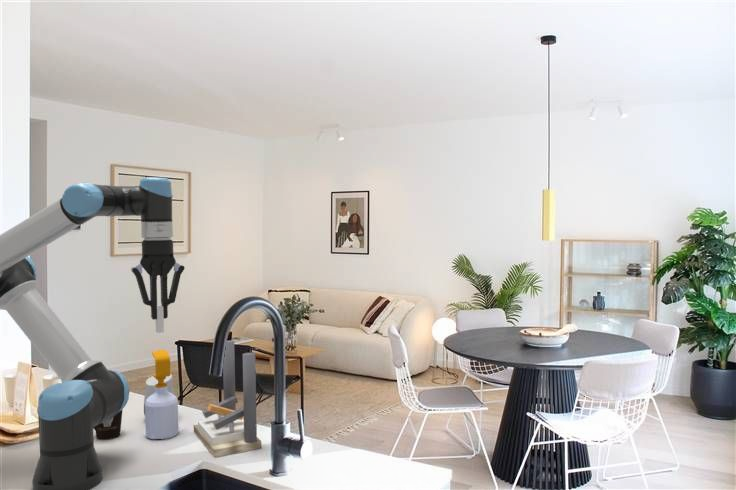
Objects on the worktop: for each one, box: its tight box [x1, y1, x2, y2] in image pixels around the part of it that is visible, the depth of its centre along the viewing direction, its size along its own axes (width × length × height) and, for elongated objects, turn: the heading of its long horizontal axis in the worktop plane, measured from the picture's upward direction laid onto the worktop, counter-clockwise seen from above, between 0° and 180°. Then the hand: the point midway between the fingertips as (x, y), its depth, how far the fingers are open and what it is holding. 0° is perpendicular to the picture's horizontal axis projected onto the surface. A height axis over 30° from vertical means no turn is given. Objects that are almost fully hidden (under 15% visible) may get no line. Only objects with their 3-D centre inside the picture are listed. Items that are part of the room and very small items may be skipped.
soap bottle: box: [144, 349, 180, 440], centre depth 178 cm, size 9×9×25 cm
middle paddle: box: [207, 403, 244, 420], centre depth 174 cm, size 10×2×2 cm, turn 120°
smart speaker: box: [143, 373, 175, 416], centre depth 192 cm, size 10×9×14 cm
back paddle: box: [202, 395, 239, 419], centre depth 179 cm, size 10×2×2 cm, turn 119°
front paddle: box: [212, 406, 244, 430], centre depth 169 cm, size 10×2×2 cm, turn 119°
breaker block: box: [197, 414, 244, 445], centre depth 174 cm, size 12×15×5 cm
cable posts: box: [222, 340, 258, 443], centre depth 176 cm, size 3×22×24 cm, turn 29°
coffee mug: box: [93, 408, 124, 441], centre depth 178 cm, size 12×9×10 cm
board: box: [193, 424, 262, 458], centre depth 175 cm, size 13×22×2 cm, turn 29°
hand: (159, 331), depth 156 cm, fingers closed
